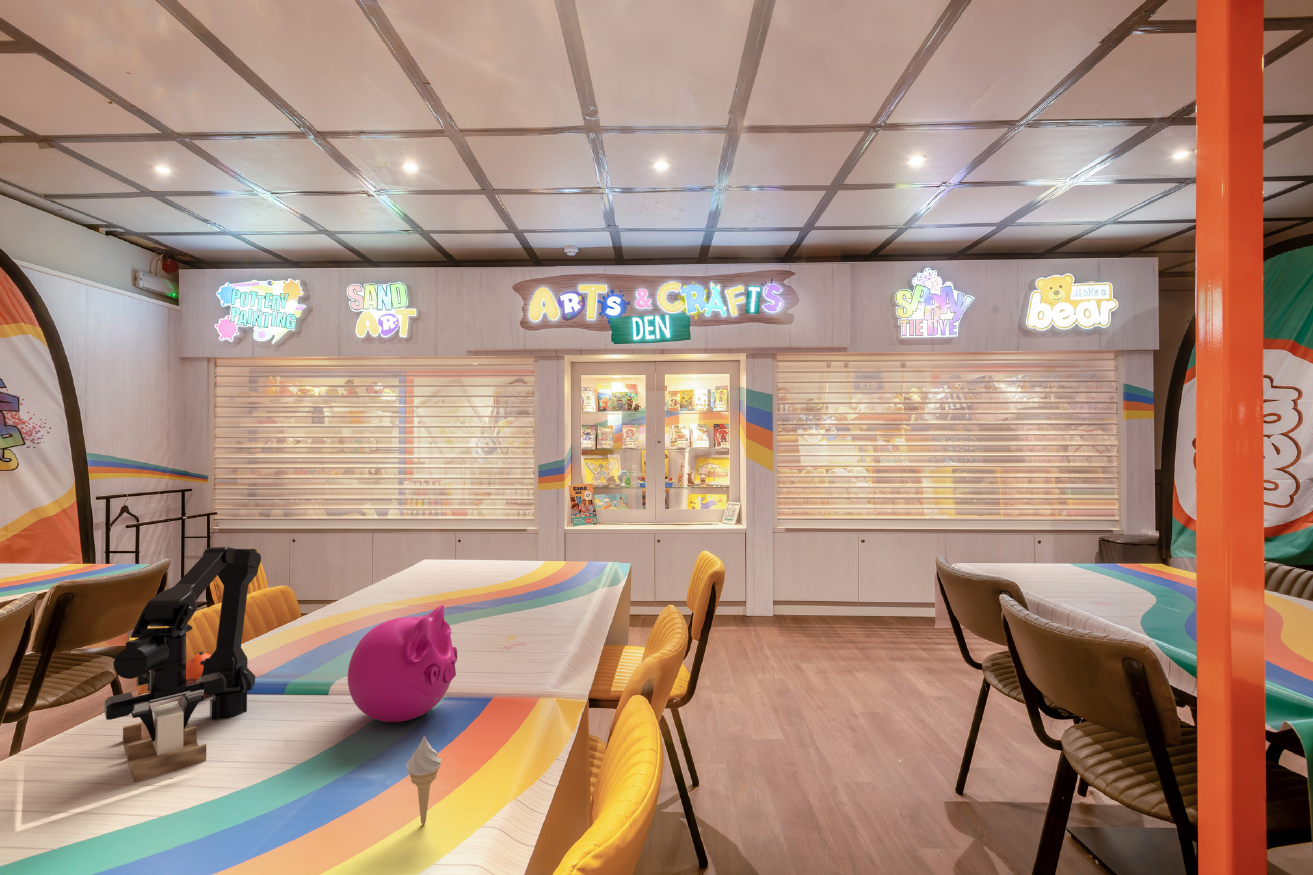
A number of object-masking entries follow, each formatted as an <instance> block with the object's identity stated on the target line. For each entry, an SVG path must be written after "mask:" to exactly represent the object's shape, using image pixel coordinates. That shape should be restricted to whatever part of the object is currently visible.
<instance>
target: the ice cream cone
mask: <svg viewBox="0 0 1313 875" xmlns="http://www.w3.org/2000/svg"><path fill="white" fill-rule="evenodd" d="M438 756H439V753H438V752H437V751H436V750H435V749H434V748H433V747H432V745H431V743H429V742H428V740H427V738H426V736H425V735H423V737H422V739H421V741H420V743H419V745H418V746H417V748H416V749H415V751H414V752H413V753H412V756H410V758H409V760H408V761H407V763H406V766H405V767H406V771H407V774H408V775H409V777H410V781H411V783H412V784H414V785H415V786H416V787H417V796H418V798H417V799H418V803H419V804H418V805H419V816H420V823H421V825H422V826H424V825H426V822H427V814H428V809H429V808H428V807H429V798H430V790H431V785H432V783H433V782H434V781H435V780H436V778H437V776H438V775H437V774H438V772H439V769H440V768H441V763H442V760H443V759H442V757H438Z"/></svg>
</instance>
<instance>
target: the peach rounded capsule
mask: <svg viewBox="0 0 1313 875" xmlns="http://www.w3.org/2000/svg"><path fill="white" fill-rule="evenodd" d="M140 722H141V741H143V740H146V739H150V738H151V737H150V734H149V732H148V730H147V728H146V726H145V724H144V723H143V721H142V720H141V721H140Z"/></svg>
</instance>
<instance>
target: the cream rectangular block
mask: <svg viewBox="0 0 1313 875" xmlns="http://www.w3.org/2000/svg"><path fill="white" fill-rule="evenodd" d="M151 710H152V713H153V720H154V727H155V741H154V742H153V741H152V742H153V745H154V748H155V750H156V753H157V755H161V754H164V753H168V752H171V751H175V750H178V749H182V748H183V724H184V713H183V711H182V706H181V705H180V704H179V701H178V700H176V701H172V702H171V701H170V702H168V703H164V704H160V705H156V706H155V705H154V706H151Z"/></svg>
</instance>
